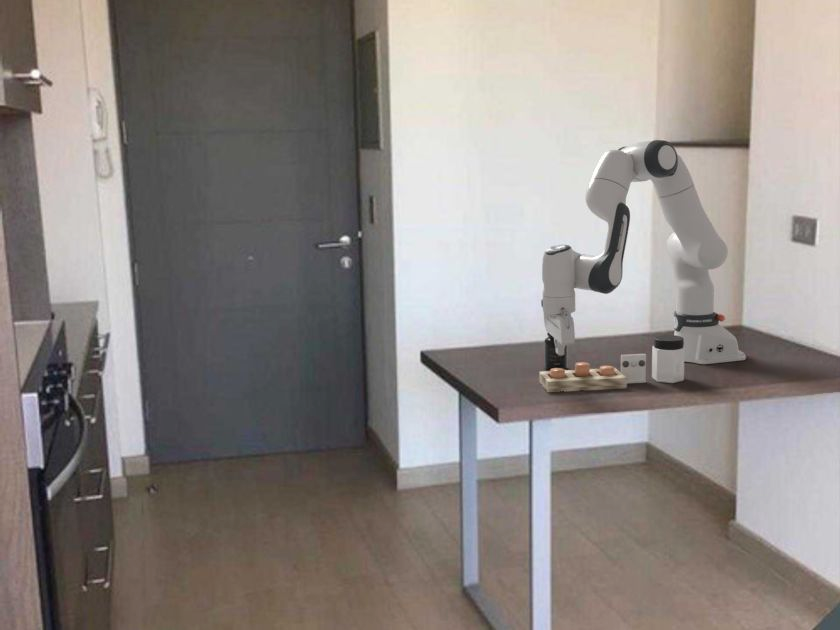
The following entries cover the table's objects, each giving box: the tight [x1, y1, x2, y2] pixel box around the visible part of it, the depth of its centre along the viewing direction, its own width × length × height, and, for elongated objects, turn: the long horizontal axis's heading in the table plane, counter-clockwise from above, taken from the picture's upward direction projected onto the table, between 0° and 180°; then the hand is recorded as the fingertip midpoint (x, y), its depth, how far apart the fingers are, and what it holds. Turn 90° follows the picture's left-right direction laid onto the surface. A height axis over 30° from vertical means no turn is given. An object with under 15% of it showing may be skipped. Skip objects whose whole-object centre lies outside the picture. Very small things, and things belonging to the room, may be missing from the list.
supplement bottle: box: [543, 331, 568, 371], centre depth 293 cm, size 7×7×12 cm
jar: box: [651, 334, 685, 384], centre depth 278 cm, size 9×8×12 cm
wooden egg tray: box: [538, 367, 628, 393], centre depth 276 cm, size 22×11×3 cm, turn 95°
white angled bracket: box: [620, 353, 647, 384], centre depth 277 cm, size 7×3×8 cm, turn 95°
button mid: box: [574, 361, 591, 376], centre depth 275 cm, size 4×4×3 cm
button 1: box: [549, 368, 566, 379], centre depth 275 cm, size 4×4×3 cm
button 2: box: [599, 365, 615, 376], centre depth 276 cm, size 4×4×3 cm
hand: (560, 354), depth 273 cm, fingers closed
